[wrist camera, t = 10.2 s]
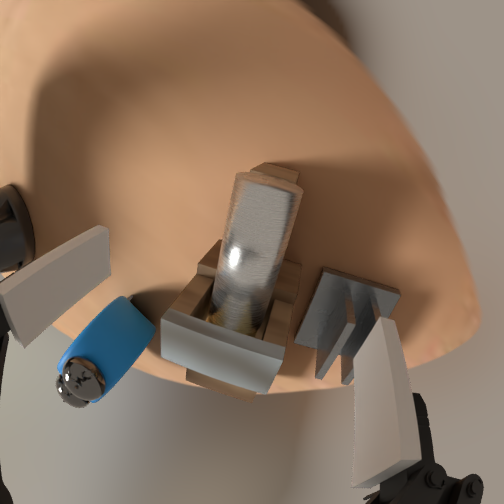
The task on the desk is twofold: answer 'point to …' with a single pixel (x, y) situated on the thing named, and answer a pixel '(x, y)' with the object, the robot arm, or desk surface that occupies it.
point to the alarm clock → (103, 353)
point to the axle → (252, 249)
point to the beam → (227, 341)
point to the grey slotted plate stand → (343, 318)
